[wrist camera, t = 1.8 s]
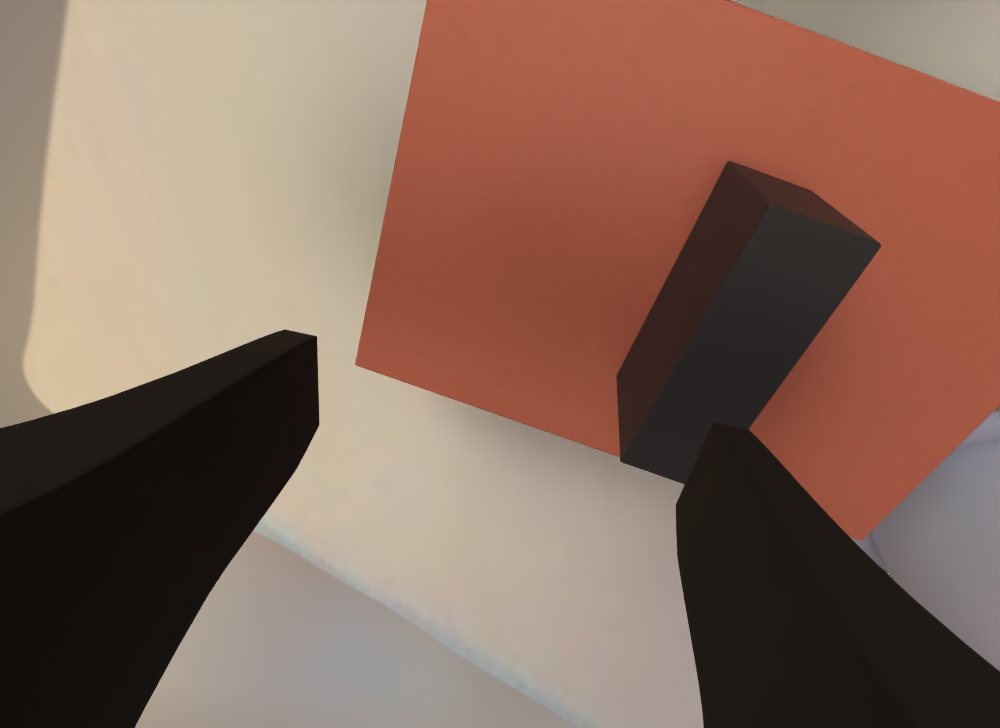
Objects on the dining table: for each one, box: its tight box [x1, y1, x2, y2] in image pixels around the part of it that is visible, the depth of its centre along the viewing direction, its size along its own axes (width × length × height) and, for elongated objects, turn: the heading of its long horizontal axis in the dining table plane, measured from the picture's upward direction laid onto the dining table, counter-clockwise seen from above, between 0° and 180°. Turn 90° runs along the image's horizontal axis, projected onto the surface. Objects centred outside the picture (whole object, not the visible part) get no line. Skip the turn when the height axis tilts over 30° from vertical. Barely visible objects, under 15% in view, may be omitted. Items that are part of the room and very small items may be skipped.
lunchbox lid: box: [355, 0, 1000, 541], centre depth 12 cm, size 16×11×4 cm
